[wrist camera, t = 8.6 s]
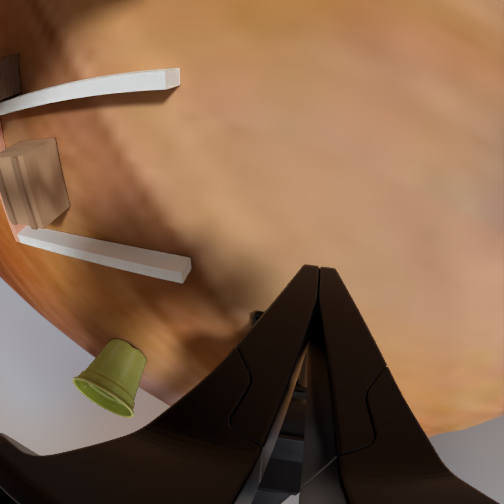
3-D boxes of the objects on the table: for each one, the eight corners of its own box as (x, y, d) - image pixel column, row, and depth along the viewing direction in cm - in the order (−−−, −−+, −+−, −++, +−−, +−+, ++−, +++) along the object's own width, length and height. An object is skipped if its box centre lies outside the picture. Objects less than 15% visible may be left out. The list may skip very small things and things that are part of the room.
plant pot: (90, 325, 38) (60, 372, 32) (139, 334, 36) (108, 389, 29) (119, 364, 43) (96, 407, 37) (167, 374, 41) (145, 424, 34)
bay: (191, 268, 26) (182, 283, 25) (26, 232, 30) (16, 241, 28) (180, 67, 16) (165, 70, 15) (-7, 104, 19) (-21, 110, 18)
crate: (70, 206, 25) (41, 231, 22) (34, 201, 26) (8, 223, 23) (55, 137, 21) (20, 157, 17) (19, 141, 22) (-12, 159, 18)
